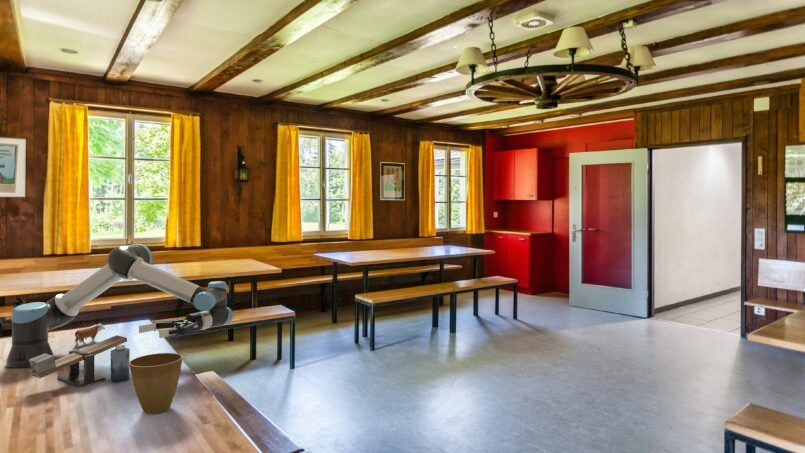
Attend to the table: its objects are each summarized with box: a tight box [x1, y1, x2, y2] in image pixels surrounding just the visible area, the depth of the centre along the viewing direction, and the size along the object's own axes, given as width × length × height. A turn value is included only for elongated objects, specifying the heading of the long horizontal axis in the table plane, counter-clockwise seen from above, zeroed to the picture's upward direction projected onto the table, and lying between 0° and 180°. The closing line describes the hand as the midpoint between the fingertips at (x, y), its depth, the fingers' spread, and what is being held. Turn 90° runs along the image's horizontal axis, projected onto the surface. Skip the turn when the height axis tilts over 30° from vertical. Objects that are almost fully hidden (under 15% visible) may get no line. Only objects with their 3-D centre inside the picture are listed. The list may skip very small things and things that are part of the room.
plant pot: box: [129, 352, 183, 415], centre depth 153 cm, size 15×15×16 cm
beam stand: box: [56, 349, 107, 388], centre depth 179 cm, size 16×9×10 cm, turn 58°
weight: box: [110, 344, 131, 384], centre depth 179 cm, size 6×6×12 cm
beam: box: [29, 334, 128, 379], centre depth 178 cm, size 9×30×6 cm, turn 148°
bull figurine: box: [74, 323, 106, 346], centre depth 228 cm, size 4×13×8 cm, turn 155°
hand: (149, 332), depth 188 cm, fingers open, 13 cm apart
